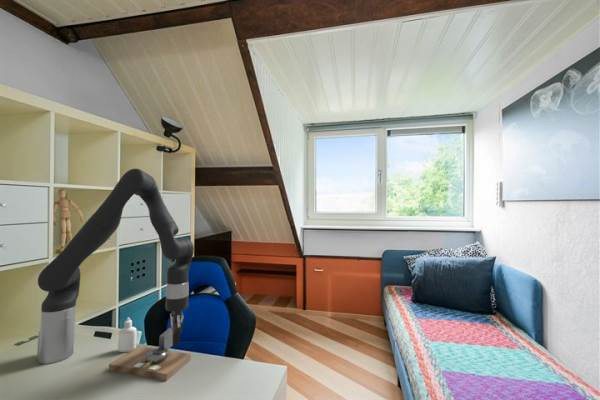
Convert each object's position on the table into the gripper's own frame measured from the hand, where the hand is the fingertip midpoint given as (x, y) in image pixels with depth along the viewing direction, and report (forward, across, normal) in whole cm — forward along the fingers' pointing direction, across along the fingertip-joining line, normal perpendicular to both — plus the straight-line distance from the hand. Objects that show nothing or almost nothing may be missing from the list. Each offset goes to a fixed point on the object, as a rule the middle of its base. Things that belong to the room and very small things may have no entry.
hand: (175, 343), depth 95 cm
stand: (+5, 0, +8) cm, 9 cm away
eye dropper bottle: (+5, +15, +15) cm, 22 cm away
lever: (+3, 0, +5) cm, 6 cm away
